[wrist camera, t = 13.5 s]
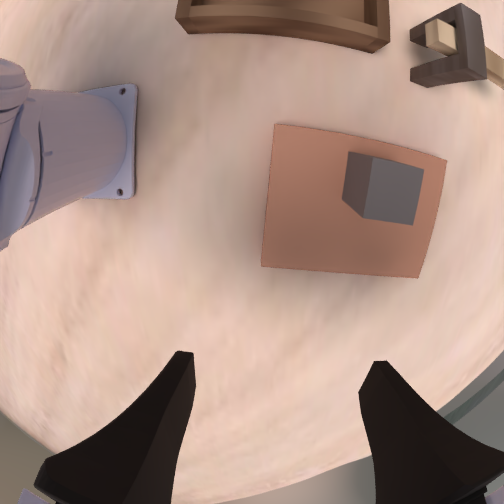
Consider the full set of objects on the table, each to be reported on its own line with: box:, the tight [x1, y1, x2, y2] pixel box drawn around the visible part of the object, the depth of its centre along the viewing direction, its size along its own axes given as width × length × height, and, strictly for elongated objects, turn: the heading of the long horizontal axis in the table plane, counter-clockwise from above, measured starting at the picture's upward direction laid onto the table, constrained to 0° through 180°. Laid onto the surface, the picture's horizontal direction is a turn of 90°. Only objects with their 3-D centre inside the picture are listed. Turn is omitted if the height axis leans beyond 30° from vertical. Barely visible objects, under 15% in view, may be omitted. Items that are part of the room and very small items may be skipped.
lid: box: [261, 124, 447, 278], centre depth 16 cm, size 12×9×6 cm
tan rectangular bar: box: [425, 19, 504, 89], centre depth 9 cm, size 8×2×1 cm, turn 85°
